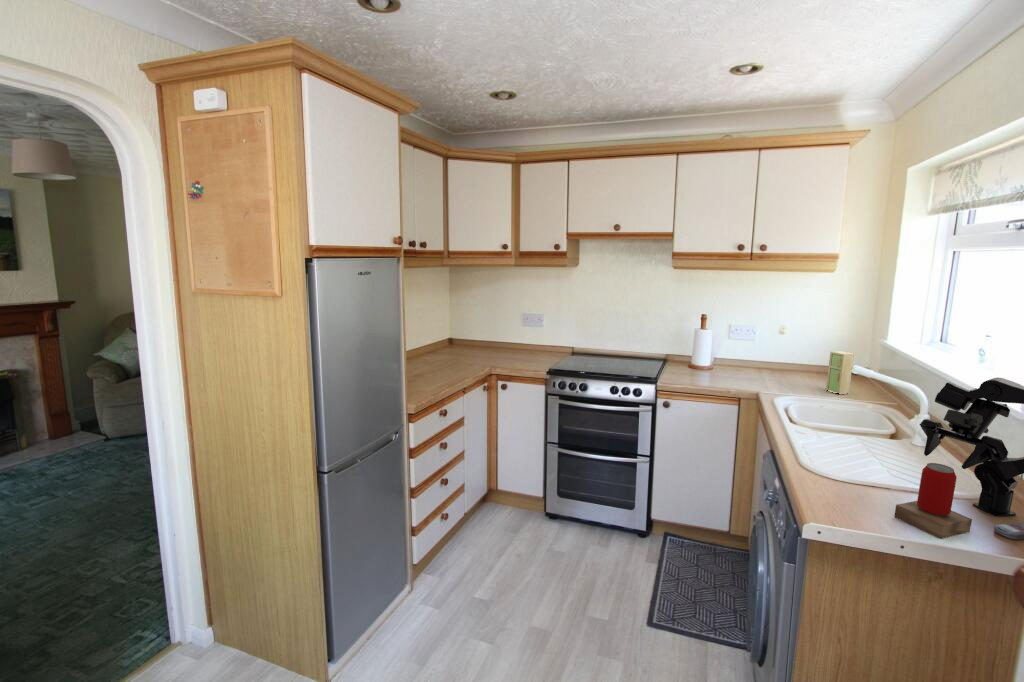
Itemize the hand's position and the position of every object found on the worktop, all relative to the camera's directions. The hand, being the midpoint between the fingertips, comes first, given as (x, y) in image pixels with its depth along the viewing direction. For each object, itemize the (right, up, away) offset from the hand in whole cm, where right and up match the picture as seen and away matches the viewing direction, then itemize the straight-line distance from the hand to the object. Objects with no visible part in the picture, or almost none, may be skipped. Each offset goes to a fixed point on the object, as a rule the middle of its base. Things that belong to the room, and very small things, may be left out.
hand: (943, 461), depth 139 cm
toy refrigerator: (+49, +6, +124) cm, 134 cm away
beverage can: (-9, -11, -7) cm, 16 cm away
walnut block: (-9, -15, -7) cm, 18 cm away
